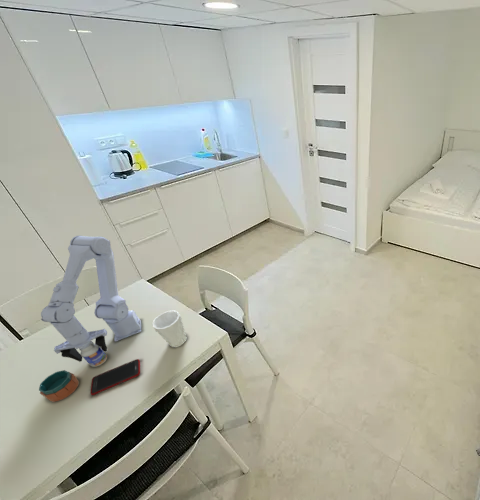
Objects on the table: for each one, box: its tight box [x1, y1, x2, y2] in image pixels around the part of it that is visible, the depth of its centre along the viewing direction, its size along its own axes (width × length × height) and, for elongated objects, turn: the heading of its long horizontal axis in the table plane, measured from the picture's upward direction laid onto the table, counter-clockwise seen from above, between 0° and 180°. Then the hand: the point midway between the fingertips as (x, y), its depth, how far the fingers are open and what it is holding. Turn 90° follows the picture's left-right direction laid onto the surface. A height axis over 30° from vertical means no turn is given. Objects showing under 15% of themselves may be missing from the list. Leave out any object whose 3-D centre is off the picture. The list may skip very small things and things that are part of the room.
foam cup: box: [151, 309, 187, 348], centre depth 114 cm, size 10×9×13 cm
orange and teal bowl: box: [38, 369, 80, 403], centre depth 100 cm, size 9×9×6 cm
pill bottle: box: [78, 340, 108, 368], centre depth 108 cm, size 5×5×10 cm
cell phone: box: [90, 358, 141, 396], centre depth 104 cm, size 8×15×1 cm, turn 122°
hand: (93, 354), depth 108 cm, fingers open, 7 cm apart
